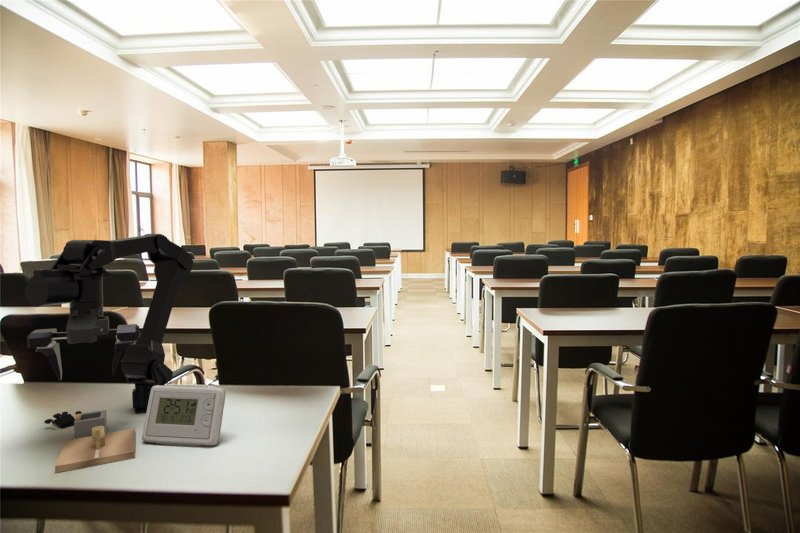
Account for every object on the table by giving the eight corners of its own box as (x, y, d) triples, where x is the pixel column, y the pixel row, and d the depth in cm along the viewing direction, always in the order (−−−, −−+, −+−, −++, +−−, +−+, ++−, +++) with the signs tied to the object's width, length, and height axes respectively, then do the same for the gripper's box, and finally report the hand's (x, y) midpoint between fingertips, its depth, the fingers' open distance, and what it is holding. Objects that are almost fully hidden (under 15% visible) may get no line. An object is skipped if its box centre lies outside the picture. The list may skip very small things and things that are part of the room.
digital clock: (136, 443, 94) (134, 390, 93) (171, 426, 102) (170, 378, 102) (203, 455, 89) (202, 399, 88) (234, 436, 97) (233, 385, 97)
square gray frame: (107, 428, 101) (106, 406, 101) (105, 436, 97) (104, 414, 97) (77, 432, 99) (77, 411, 99) (74, 442, 94) (73, 419, 94)
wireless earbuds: (50, 427, 99) (41, 415, 102) (49, 437, 100) (39, 425, 102) (87, 417, 105) (77, 405, 107) (86, 426, 105) (76, 415, 108)
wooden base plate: (135, 434, 98) (134, 411, 98) (134, 457, 88) (133, 433, 87) (65, 446, 92) (64, 422, 92) (55, 473, 82) (54, 446, 82)
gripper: (18, 307, 85) (20, 393, 86) (137, 303, 94) (138, 381, 94) (33, 301, 95) (34, 378, 96) (139, 298, 104) (139, 369, 104)
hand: (87, 377), depth 97 cm, fingers open, 9 cm apart
